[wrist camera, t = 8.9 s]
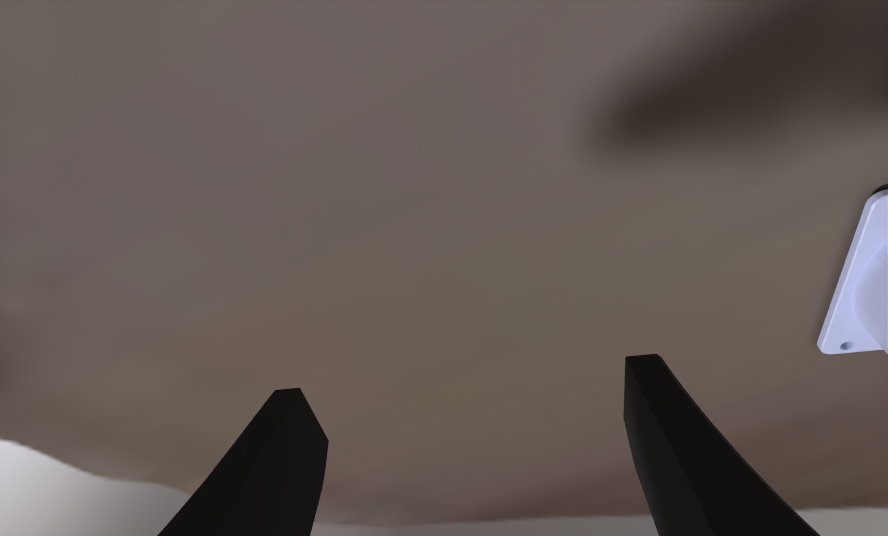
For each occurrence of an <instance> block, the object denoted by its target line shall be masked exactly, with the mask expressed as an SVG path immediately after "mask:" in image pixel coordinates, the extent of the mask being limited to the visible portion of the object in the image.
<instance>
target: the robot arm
mask: <svg viewBox="0 0 888 536" xmlns="http://www.w3.org/2000/svg"><path fill="white" fill-rule="evenodd" d="M817 346H818V347H819V348H820V350H821V351H822V352H823V353H825V354H838V353H849V352H860V351H871V350H882V349H884V351H885V352H886V353H887V354H888V190H883V191H879V192H877V193H876V194H874V195H872V196H871V197H870V198H869V199H868V201H867V202H866V204H865V207H864V209H863V212H862V215H861V218H860V221H859V224H858V227H857V230H856V232H855V235H854V238H853V241H852V244H851V247H850V250H849V253H848V255H847V258H846V261H845V264H844V267H843V270H842V273H841V276H840V278H839V281H838V284H837V287H836V290H835V293H834V296H833V299H832V301H831V304H830V307H829V310H828V313H827V316H826V319H825V322H824V324H823V327H822V330H821V333H820V336H819V339H818V342H817ZM624 422H625V426H626V431H627V435H628V439H629V444H630V448H631V452H632V456H633V460H634V465H635V468H636V471H637V474H638V476H639V479H640V482H641V485H642V488H643V491H644V494H645V497H646V500H647V503H648V505H649V508H650V511H651V514H652V517H653V520H654V523H655V525H656V528H657V531H658V534H659V536H820V535H819V534H818V533H817V532H816V531H815V530H814V529H813V528H812V527H810V525H808V524H807V523H806V522H805V521H804V520H803V519H802V518H801V517H800V516H799V515H798V514H797V513H796V512H795V511H794V510H793V509H792V508H791V507H790V506H789V505H788V504H787V503H786V502H785V501H784V500H783V499H782V498H781V497H780V496H779V495H778V494H777V493H776V492H775V491H774V490H773V489H772V488H771V487H770V486H769V485H768V484H767V483H766V482H765V481H764V480H763V479H762V478H761V477H760V476H759V475H758V474H757V473H756V472H755V471H754V469H753V468H752V467H751V466H750V465H749V464H748V463H747V462H746V461H745V460H744V459H743V458H742V457H741V455H740V454H739V453H738V452H737V451H736V450H735V449H734V448H733V446H732V445H731V444H730V443H729V442H728V441H727V440H726V438H725V437H724V436H723V435H722V434H721V433H720V432H719V430H718V429H717V428H716V427H715V426H714V425H713V424H712V422H711V421H710V420H709V419H708V418H707V416H706V415H705V414H704V413H703V412H702V410H701V409H700V408H699V407H698V405H697V404H696V403H695V402H694V400H693V399H692V398H691V397H690V395H689V394H688V393H687V392H686V390H685V389H684V388H683V386H682V385H681V384H680V383H679V381H678V380H677V379H676V377H675V376H674V374H673V373H672V372H671V370H670V369H669V368H668V366H667V365H666V363H665V362H664V360H663V359H662V357H660V356H659V355H657V354H649V355H639V356H628V357H626V360H625V390H624ZM328 442H329V441H328V439H327V437H326V435H325V433H324V431H323V430H322V428H321V426H320V424H319V422H318V420H317V418H316V417H315V415H314V413H313V411H312V409H311V407H310V406H309V404H308V402H307V400H306V398H305V396H304V395H303V393H302V391H301V389H300V388H293V389H282V390H275V391H274V392H273V393H272V395H271V396H270V397H269V399H268V400H267V401H266V402H265V404H264V405H263V406H262V408H261V409H260V410H259V411H258V413H257V414H256V415H255V417H254V418H253V419H252V421H251V422H250V423H249V425H248V426H247V427H246V428H245V430H244V431H243V432H242V434H241V435H240V436H239V438H238V439H237V440H236V442H235V443H234V444H233V445H232V447H231V448H230V449H229V451H228V452H227V453H226V454H225V456H224V457H223V458H222V459H221V461H220V462H219V463H218V465H217V466H216V467H215V468H214V470H213V471H212V472H211V473H210V475H209V476H208V477H207V478H206V480H205V481H204V482H203V483H202V485H201V486H200V487H199V488H198V489H197V490H196V492H195V493H194V494H193V495H192V496H191V498H190V499H189V500H188V501H187V502H186V503H185V505H184V506H183V507H182V508H181V509H180V511H179V512H178V513H177V514H176V515H175V516H174V518H173V519H172V520H171V521H170V522H169V523H168V524H167V526H166V527H165V528H164V529H163V530H162V531H161V532H160V533H159V534H158V536H310V533H311V530H312V526H313V522H314V518H315V514H316V510H317V506H318V503H319V499H320V495H321V490H322V486H323V480H324V474H325V467H326V459H327V451H328Z"/></svg>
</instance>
